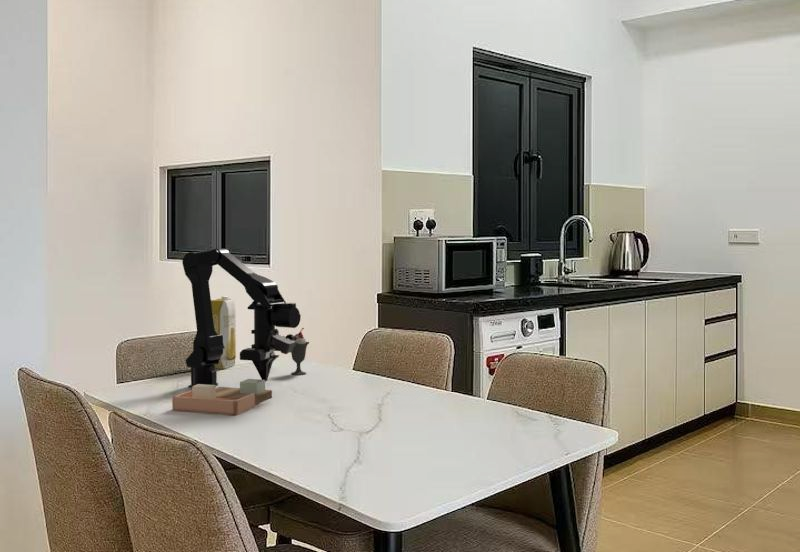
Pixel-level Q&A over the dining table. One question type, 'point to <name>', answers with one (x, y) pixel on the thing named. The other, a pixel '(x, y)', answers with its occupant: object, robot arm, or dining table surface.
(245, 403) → the tray
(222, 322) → the juice carton
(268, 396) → the board
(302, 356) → the sundae
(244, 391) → the sage green square block
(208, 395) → the ivory rectangular block
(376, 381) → the dining table surface
